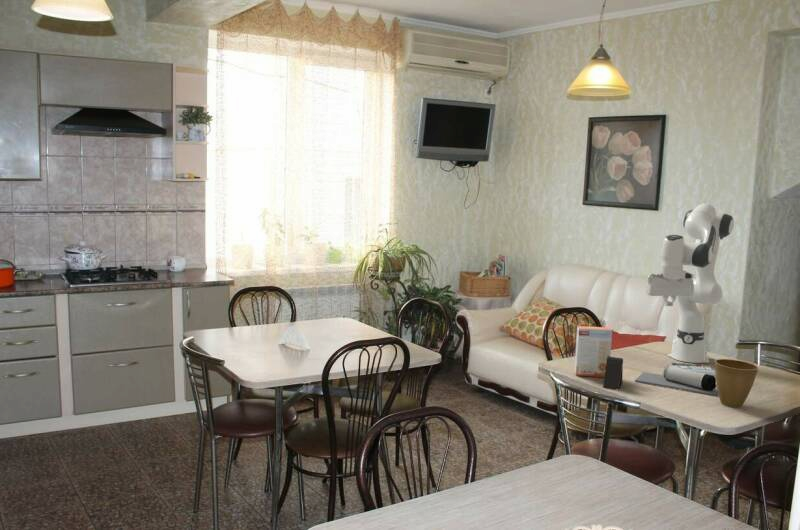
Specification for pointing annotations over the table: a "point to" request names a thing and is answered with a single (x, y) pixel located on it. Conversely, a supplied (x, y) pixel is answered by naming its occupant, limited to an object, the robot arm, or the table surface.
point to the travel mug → (689, 377)
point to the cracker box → (592, 350)
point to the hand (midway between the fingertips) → (668, 305)
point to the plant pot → (734, 381)
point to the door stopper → (613, 373)
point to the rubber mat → (672, 384)
